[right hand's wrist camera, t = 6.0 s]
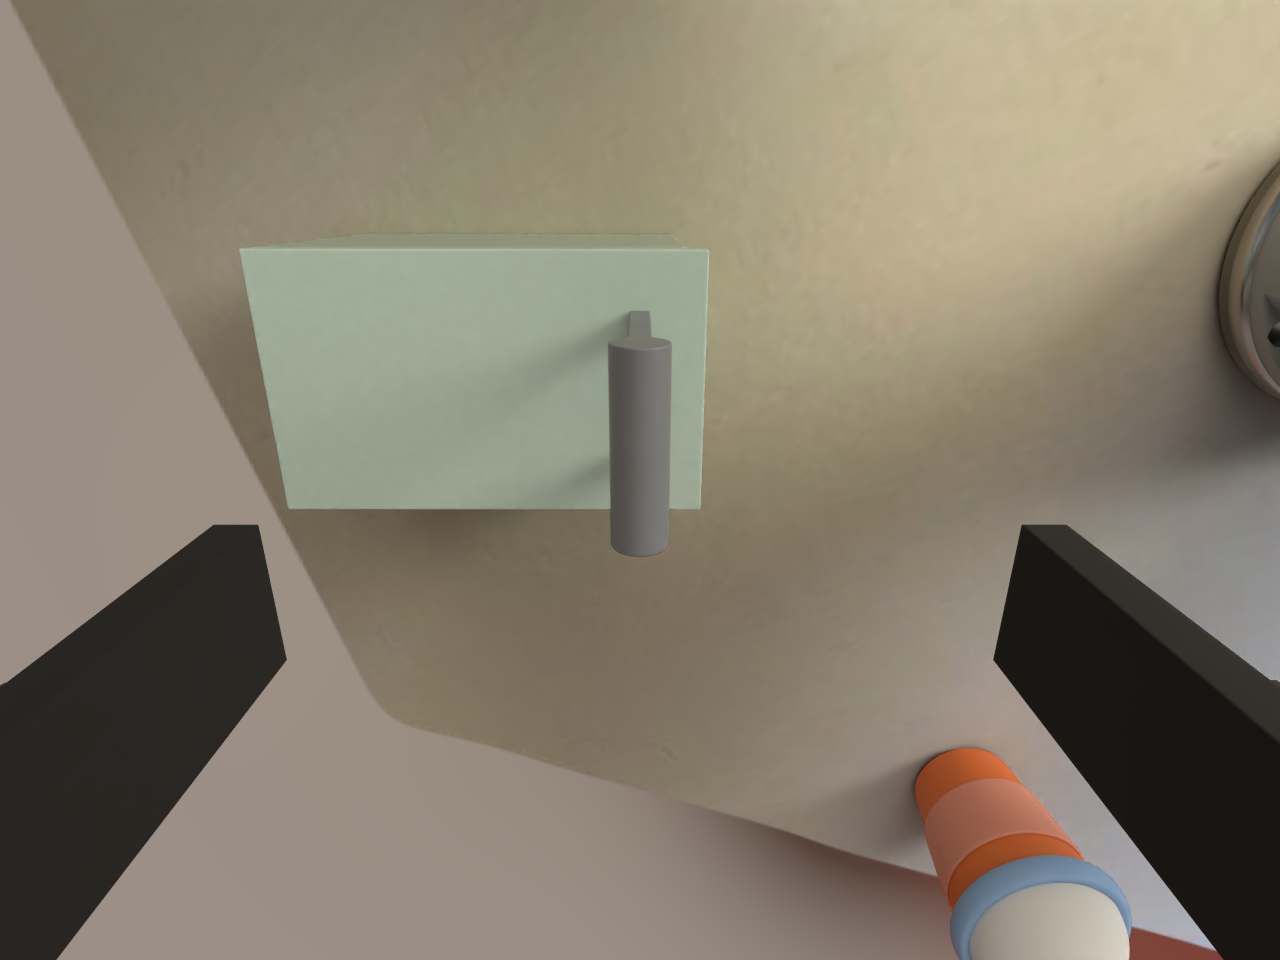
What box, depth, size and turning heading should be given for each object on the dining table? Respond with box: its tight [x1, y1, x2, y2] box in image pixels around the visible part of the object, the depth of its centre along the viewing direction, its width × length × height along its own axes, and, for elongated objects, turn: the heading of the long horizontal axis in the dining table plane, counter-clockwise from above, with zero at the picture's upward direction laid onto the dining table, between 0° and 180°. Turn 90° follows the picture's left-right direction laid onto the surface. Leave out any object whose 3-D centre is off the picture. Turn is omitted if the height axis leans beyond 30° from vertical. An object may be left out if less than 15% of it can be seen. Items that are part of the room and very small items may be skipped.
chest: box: [258, 234, 682, 247], centre depth 32 cm, size 15×10×11 cm, turn 90°
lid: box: [239, 247, 709, 557], centre depth 23 cm, size 16×10×9 cm, turn 90°
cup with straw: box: [915, 748, 1131, 960], centre depth 39 cm, size 9×9×18 cm
